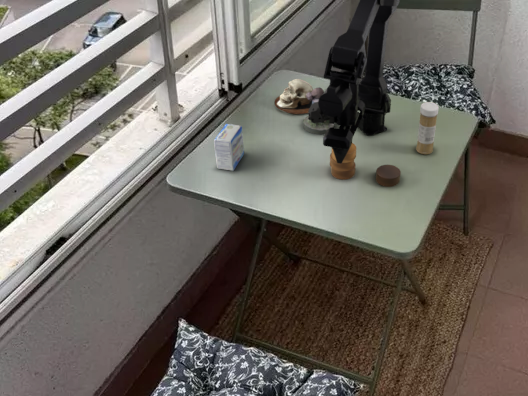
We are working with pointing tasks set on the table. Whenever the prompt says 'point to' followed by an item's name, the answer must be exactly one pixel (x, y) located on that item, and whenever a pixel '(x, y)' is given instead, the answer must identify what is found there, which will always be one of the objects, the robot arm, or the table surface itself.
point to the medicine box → (229, 147)
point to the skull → (295, 97)
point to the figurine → (307, 124)
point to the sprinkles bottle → (427, 127)
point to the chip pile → (342, 169)
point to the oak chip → (348, 154)
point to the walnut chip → (388, 175)
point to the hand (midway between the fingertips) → (343, 152)
